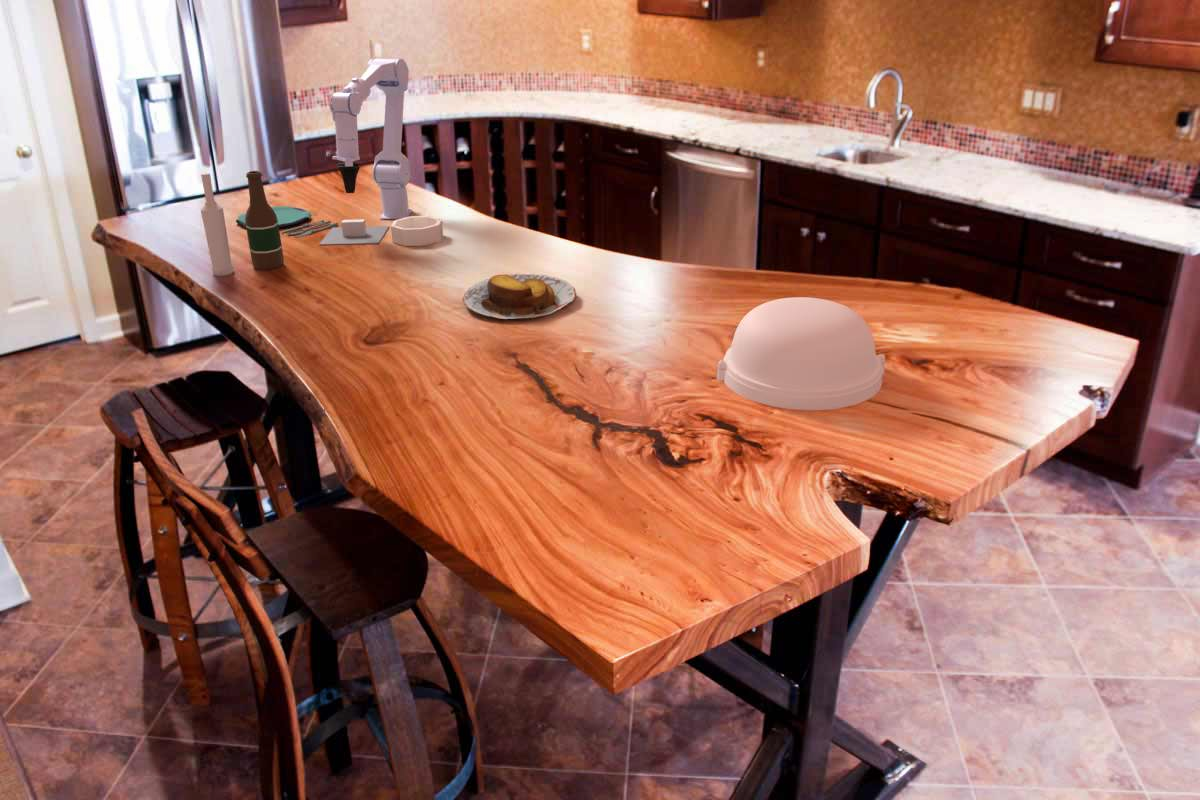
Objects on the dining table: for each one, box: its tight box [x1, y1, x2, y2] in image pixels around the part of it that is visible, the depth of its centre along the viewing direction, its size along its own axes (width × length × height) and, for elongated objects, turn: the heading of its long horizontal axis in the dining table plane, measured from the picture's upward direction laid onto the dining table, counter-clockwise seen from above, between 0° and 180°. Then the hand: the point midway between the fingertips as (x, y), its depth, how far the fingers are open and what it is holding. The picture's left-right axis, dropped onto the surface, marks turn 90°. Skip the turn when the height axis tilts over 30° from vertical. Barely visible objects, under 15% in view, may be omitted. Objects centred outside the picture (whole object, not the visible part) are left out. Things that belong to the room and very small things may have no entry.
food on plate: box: [461, 273, 577, 320], centre depth 239 cm, size 25×25×7 cm
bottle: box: [200, 172, 234, 277], centre depth 259 cm, size 5×5×25 cm
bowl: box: [390, 215, 444, 247], centre depth 287 cm, size 13×13×4 cm
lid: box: [318, 218, 390, 246], centre depth 291 cm, size 16×16×5 cm
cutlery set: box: [235, 205, 339, 239], centre depth 304 cm, size 20×30×2 cm, turn 50°
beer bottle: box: [245, 170, 285, 271], centre depth 264 cm, size 8×8×24 cm
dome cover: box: [716, 296, 886, 411], centre depth 197 cm, size 32×30×14 cm
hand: (349, 191), depth 284 cm, fingers open, 7 cm apart
